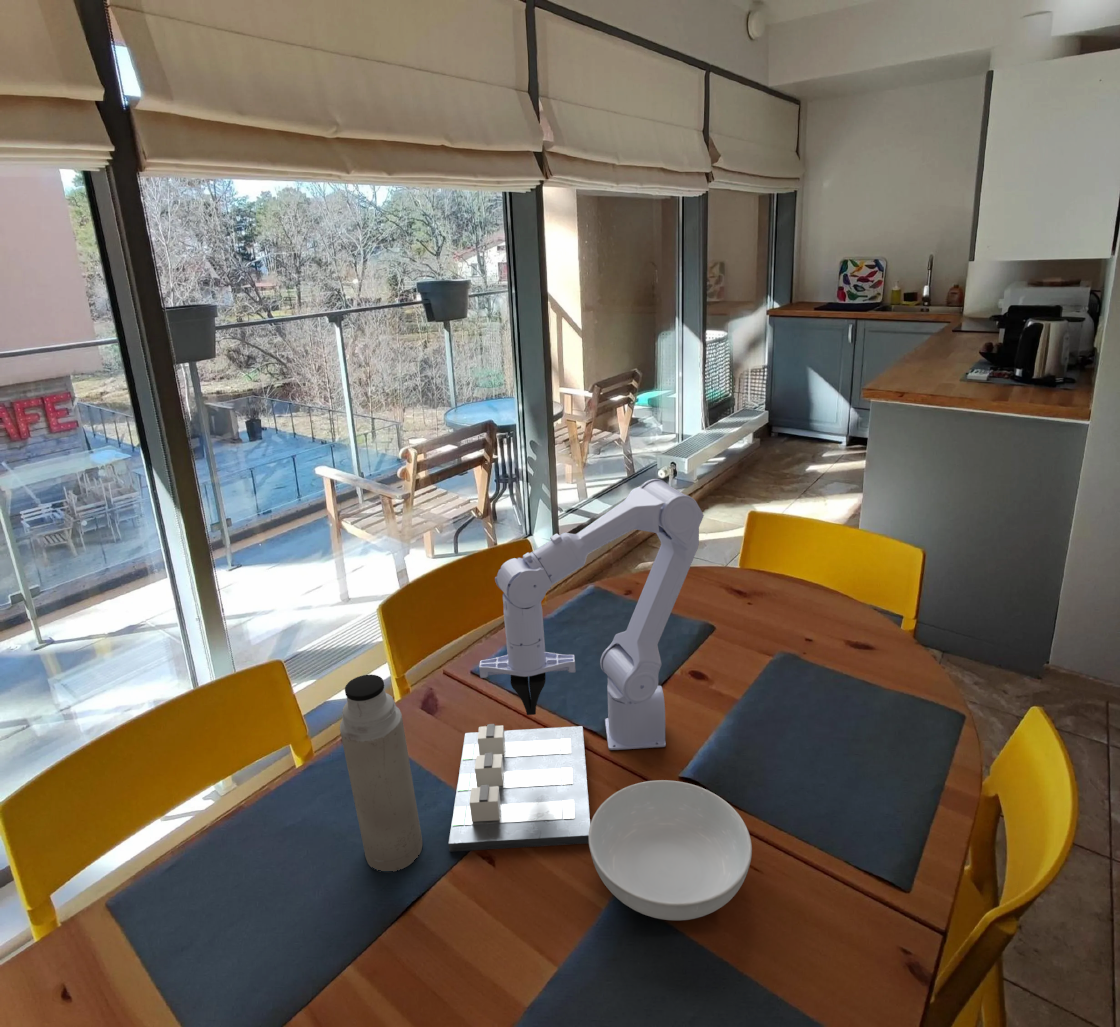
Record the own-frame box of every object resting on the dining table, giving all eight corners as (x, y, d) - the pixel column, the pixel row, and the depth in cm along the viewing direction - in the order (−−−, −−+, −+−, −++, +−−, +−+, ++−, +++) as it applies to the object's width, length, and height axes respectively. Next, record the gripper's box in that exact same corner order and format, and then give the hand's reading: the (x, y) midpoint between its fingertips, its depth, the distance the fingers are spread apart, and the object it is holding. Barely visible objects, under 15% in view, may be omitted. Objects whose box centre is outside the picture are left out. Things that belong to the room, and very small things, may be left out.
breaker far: (505, 742, 123) (503, 723, 121) (504, 754, 120) (502, 735, 119) (481, 744, 123) (478, 724, 121) (479, 756, 120) (477, 736, 119)
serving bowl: (715, 976, 85) (717, 933, 83) (561, 900, 96) (558, 860, 93) (770, 850, 102) (773, 811, 99) (633, 797, 112) (632, 761, 110)
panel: (582, 733, 127) (582, 725, 126) (591, 843, 104) (591, 834, 104) (466, 740, 127) (465, 732, 126) (449, 851, 104) (448, 842, 104)
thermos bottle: (384, 823, 110) (355, 662, 100) (432, 834, 108) (407, 670, 97) (354, 865, 103) (319, 697, 93) (404, 878, 101) (374, 707, 90)
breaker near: (500, 804, 110) (498, 784, 108) (499, 820, 107) (497, 798, 106) (473, 806, 110) (471, 785, 108) (471, 821, 107) (469, 800, 106)
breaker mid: (504, 771, 116) (501, 751, 115) (503, 785, 113) (500, 765, 112) (478, 773, 116) (476, 753, 115) (476, 787, 113) (474, 766, 112)
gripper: (572, 619, 115) (576, 692, 120) (478, 625, 115) (487, 698, 120) (574, 643, 108) (578, 720, 113) (475, 649, 108) (483, 726, 113)
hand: (531, 710), depth 116 cm, fingers closed
